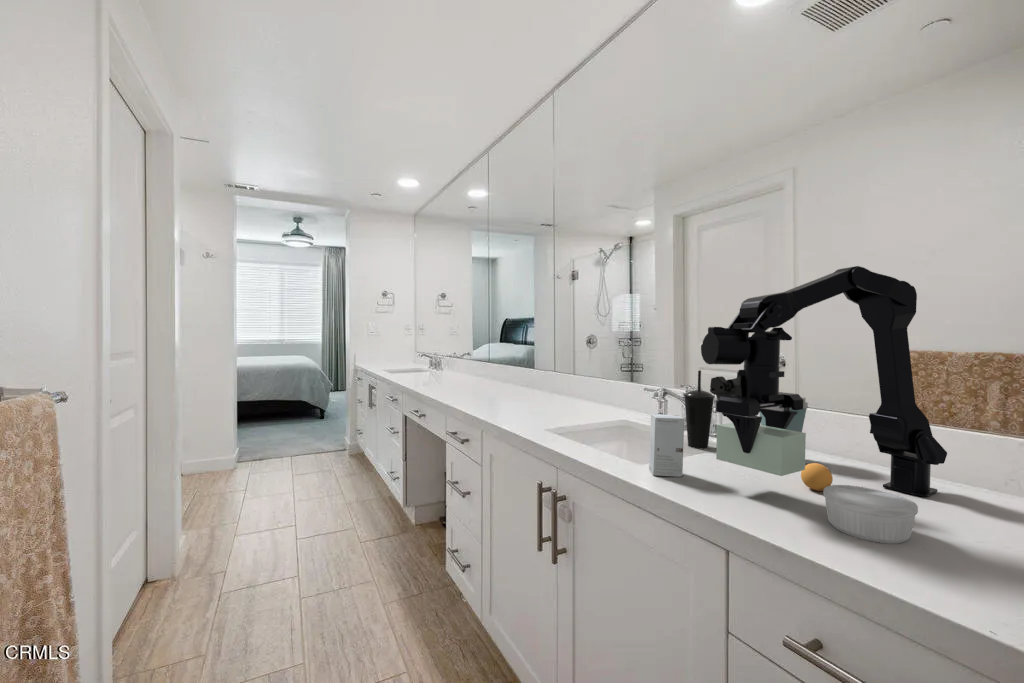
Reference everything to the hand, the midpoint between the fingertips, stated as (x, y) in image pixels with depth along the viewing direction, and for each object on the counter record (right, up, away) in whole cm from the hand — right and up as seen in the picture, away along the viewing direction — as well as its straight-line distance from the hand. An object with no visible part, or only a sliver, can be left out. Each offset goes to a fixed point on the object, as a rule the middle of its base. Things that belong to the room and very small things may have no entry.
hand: (759, 450), depth 83 cm
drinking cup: (+4, -8, +36) cm, 37 cm away
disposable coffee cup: (+19, -8, +26) cm, 34 cm away
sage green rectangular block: (0, -3, 0) cm, 3 cm away
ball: (+12, -6, +3) cm, 14 cm away
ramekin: (+8, -9, -15) cm, 19 cm away
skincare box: (-13, -8, +12) cm, 19 cm away
